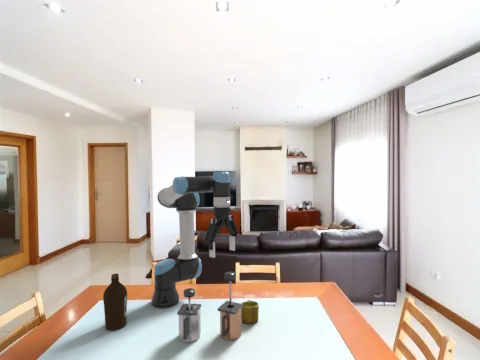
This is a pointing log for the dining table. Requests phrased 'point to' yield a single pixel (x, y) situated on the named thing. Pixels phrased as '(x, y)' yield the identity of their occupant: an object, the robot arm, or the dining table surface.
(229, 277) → the plunger copper
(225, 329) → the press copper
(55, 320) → the dining table surface
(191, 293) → the plunger steel
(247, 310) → the mug
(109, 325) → the olive oil
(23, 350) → the dining table surface
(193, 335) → the plate
